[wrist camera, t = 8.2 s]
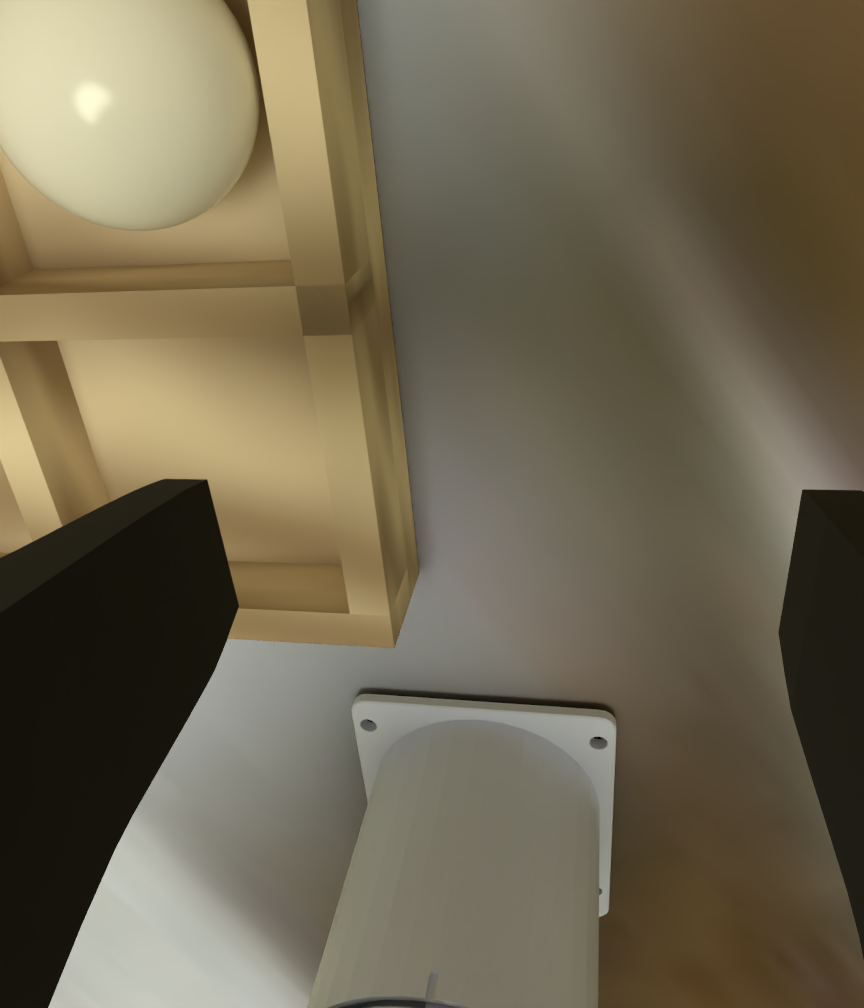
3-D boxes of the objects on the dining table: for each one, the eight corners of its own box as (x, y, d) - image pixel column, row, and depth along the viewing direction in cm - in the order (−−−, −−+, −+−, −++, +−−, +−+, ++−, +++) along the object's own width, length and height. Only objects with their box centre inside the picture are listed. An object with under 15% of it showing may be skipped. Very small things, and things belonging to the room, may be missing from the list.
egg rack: (419, 572, 23) (394, 648, 20) (-104, 552, 26) (-184, 615, 24) (331, -226, 14) (268, -277, 12) (-429, -107, 18) (-614, -125, 15)
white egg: (265, 191, 18) (302, 228, 14) (43, 227, 17) (17, 277, 13) (215, -64, 16) (243, -103, 12) (-46, -40, 15) (-108, -74, 11)
